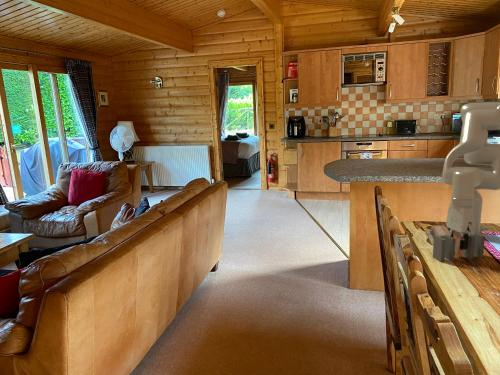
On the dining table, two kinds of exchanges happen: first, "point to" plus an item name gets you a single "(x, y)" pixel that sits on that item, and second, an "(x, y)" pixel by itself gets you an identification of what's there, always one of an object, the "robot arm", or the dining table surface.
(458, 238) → the domino
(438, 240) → the domino
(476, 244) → the domino
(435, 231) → the packaged product
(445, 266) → the dining table surface
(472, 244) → the domino
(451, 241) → the domino
